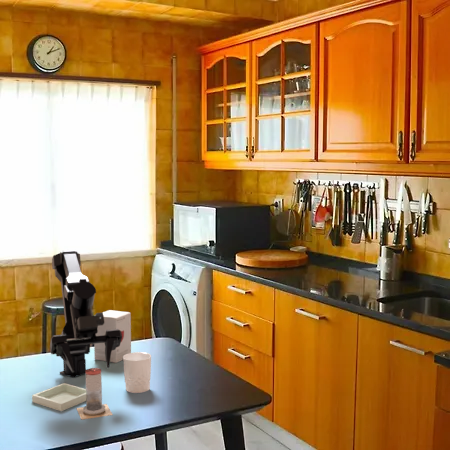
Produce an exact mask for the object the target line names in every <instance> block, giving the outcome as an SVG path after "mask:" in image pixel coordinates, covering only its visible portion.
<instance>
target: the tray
mask: <svg viewBox="0 0 450 450" xmlns="http://www.w3.org/2000/svg"><path fill="white" fill-rule="evenodd" d="M31 399H32V400H31V401H32V403H33V404H34V403H35V404H38V405H40V406H44V407H47V408H50V409H53V410H56V411H59V412H63V411H65V410H68V409H71V408H73V407H75V406H77V405H80V404H82V403H84V402H86V388H83V387H81V386H77V385H76V386H75V385H72V384H70V383H66V382H65V383H64V382H63V383H60V384H58V385H55V386H53V387H51V388H48V389H45V390H42V391H40V392H37V393H34V394H32V395H31Z"/></svg>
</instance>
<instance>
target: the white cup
mask: <svg viewBox="0 0 450 450" xmlns="http://www.w3.org/2000/svg"><path fill="white" fill-rule="evenodd" d="M122 362H123V373H124V383H125V390H126V391H127V392H129V393H133V394H137V393H138V394H139V393H145V392H148V391H150V389H151V386H150V385H151V375H152V374H151V373H152V372H151V371H152V369H151V368H152V355H151V354H150V353H149V352H143V351H139V352H138V351H137V352H134V351H133V352H131V353H129V354H126V355H124V356H123V360H122Z"/></svg>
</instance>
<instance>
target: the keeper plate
mask: <svg viewBox="0 0 450 450" xmlns="http://www.w3.org/2000/svg"><path fill="white" fill-rule="evenodd" d="M102 405H104V406H105V412H104V413H103V414H100V415H95V416H89V415H85V414H84V413H83V408H84V407H85V406H82V407H77V408H76V411H77V412H78V413H77V414H78V416H79V417H80V420H88V419H95V418H100V417H101V418H102V417H108V416H113V412H112V411H111V409H110V407H109V405H108V403H102Z"/></svg>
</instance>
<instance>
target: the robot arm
mask: <svg viewBox="0 0 450 450" xmlns="http://www.w3.org/2000/svg"><path fill="white" fill-rule="evenodd" d="M81 261H82V260H81V254H80V253H79V252H78V250H76V249H72V250H69V249H67V250H61V251H59V253H57V254H54V255H53V256H52V258H51V267H52V270H54V275H55V277H56V279H57V280H58V281H59V282H60V284H61V285H60V286H61V294H62V304H63V312H64V313H63V314H64V320H65V321H64V322H65V323H64V326H63V329H62V331H61V334H56V335H54V334H53V335H52V337H51V338H50V343H49V344H50V345H49V349H50V354H51V355H55V356H56V357H60V358H61V359H62V360H63V364H62V365H63V370H62V371H59V374H60V375H62V376H67V377H71V378H76V377H79V376H82V375H84V374H85V375H86V372H85V371H86V370H87V367H86V365H87V364H86V363H87V362H86V361H87V360H86V355H90V353H91V345H94V344H96V343H105V346H106V347H105V358H106V361H105V366H106V369H109V368H110V363H111V362H110V357H111V352H112V350H115V349H116V347H119V346H120V343H121V339H122V333H121V331H120V330H119V329H113V330H106V334H105V335H103V336H96V333H97V332H98V329H97V328H98V326H100V325H103V324H104V316H103V313H102V312H97V313H96V314H95V316H94V315H93V309H92V308H93V305H94V301H95V295H96V293H97V289H96V287H95V286H94V284H93V283H91V282H90V280H89V277H88V276H86V275H84V274H83V272H82V269H81V265H82V264H81Z"/></svg>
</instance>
